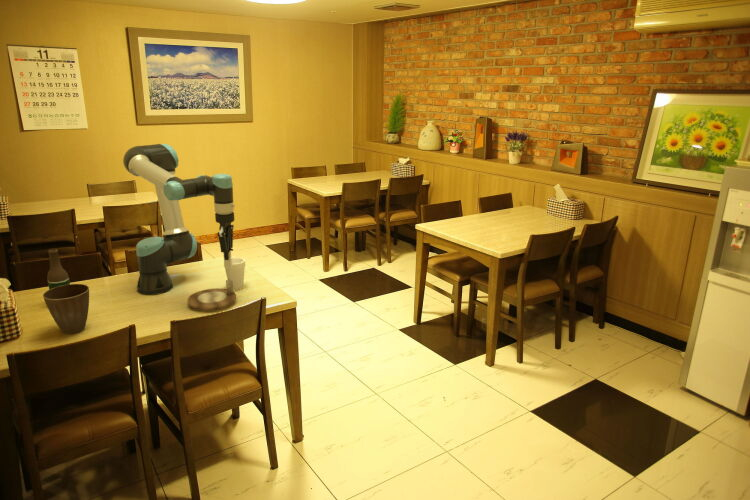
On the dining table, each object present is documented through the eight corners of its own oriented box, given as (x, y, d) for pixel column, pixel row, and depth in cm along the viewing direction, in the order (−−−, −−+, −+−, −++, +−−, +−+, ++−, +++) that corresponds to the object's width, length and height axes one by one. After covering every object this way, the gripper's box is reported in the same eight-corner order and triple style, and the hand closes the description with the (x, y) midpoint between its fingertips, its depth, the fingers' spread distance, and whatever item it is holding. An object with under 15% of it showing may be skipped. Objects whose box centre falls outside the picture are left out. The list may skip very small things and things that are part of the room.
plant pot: (58, 343, 185) (50, 302, 180) (44, 330, 194) (36, 291, 190) (101, 329, 196) (95, 291, 191) (86, 318, 205) (80, 280, 200)
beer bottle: (53, 301, 220) (43, 248, 213) (74, 298, 223) (64, 246, 216) (50, 308, 213) (40, 253, 206) (71, 305, 216) (62, 251, 209)
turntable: (195, 314, 207) (194, 297, 205) (182, 297, 223) (180, 281, 220) (243, 303, 218) (242, 287, 216) (227, 288, 234) (226, 273, 231)
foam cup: (241, 292, 233) (239, 265, 229) (222, 290, 235) (220, 263, 231) (249, 284, 242) (248, 258, 238) (231, 282, 244) (229, 256, 240)
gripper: (228, 216, 203) (231, 272, 211) (238, 208, 216) (241, 261, 223) (209, 215, 204) (213, 271, 211) (221, 208, 216) (224, 260, 224)
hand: (228, 266), depth 217 cm, fingers closed
